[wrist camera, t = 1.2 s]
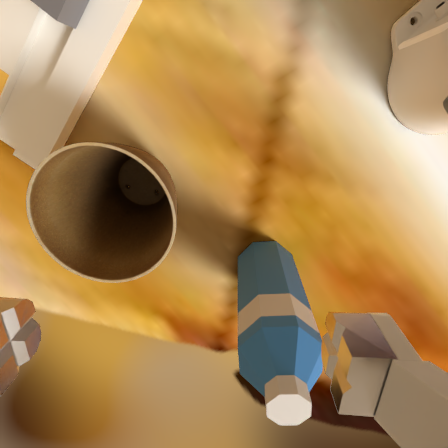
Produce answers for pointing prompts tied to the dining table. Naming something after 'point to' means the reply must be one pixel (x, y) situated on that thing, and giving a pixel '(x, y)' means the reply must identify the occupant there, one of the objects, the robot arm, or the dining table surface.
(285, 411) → the water bottle
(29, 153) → the switch plate
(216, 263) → the dining table surface
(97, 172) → the plant pot
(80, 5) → the switch knob
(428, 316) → the dining table surface
